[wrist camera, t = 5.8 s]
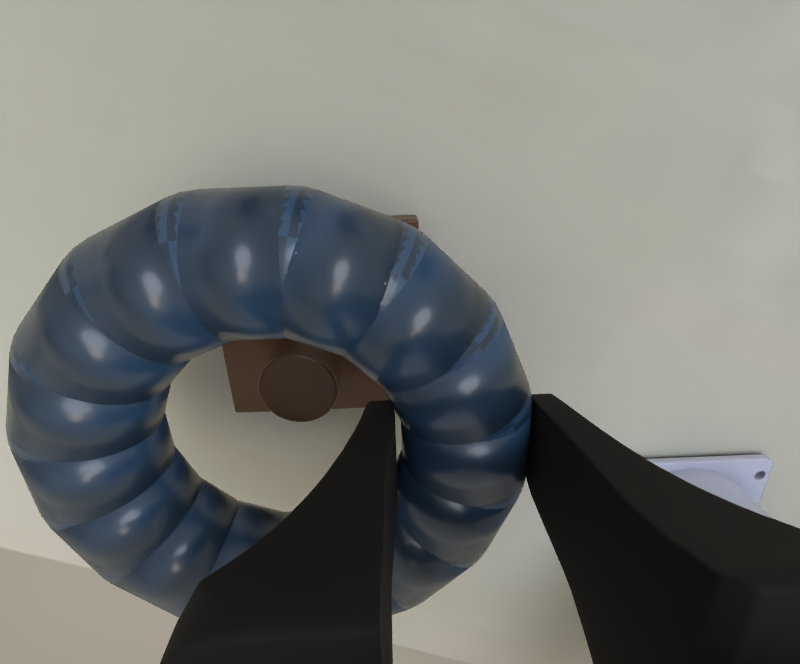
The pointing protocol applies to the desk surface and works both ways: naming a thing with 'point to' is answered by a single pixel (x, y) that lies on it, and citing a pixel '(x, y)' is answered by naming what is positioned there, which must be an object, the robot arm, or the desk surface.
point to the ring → (259, 320)
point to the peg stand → (297, 376)
